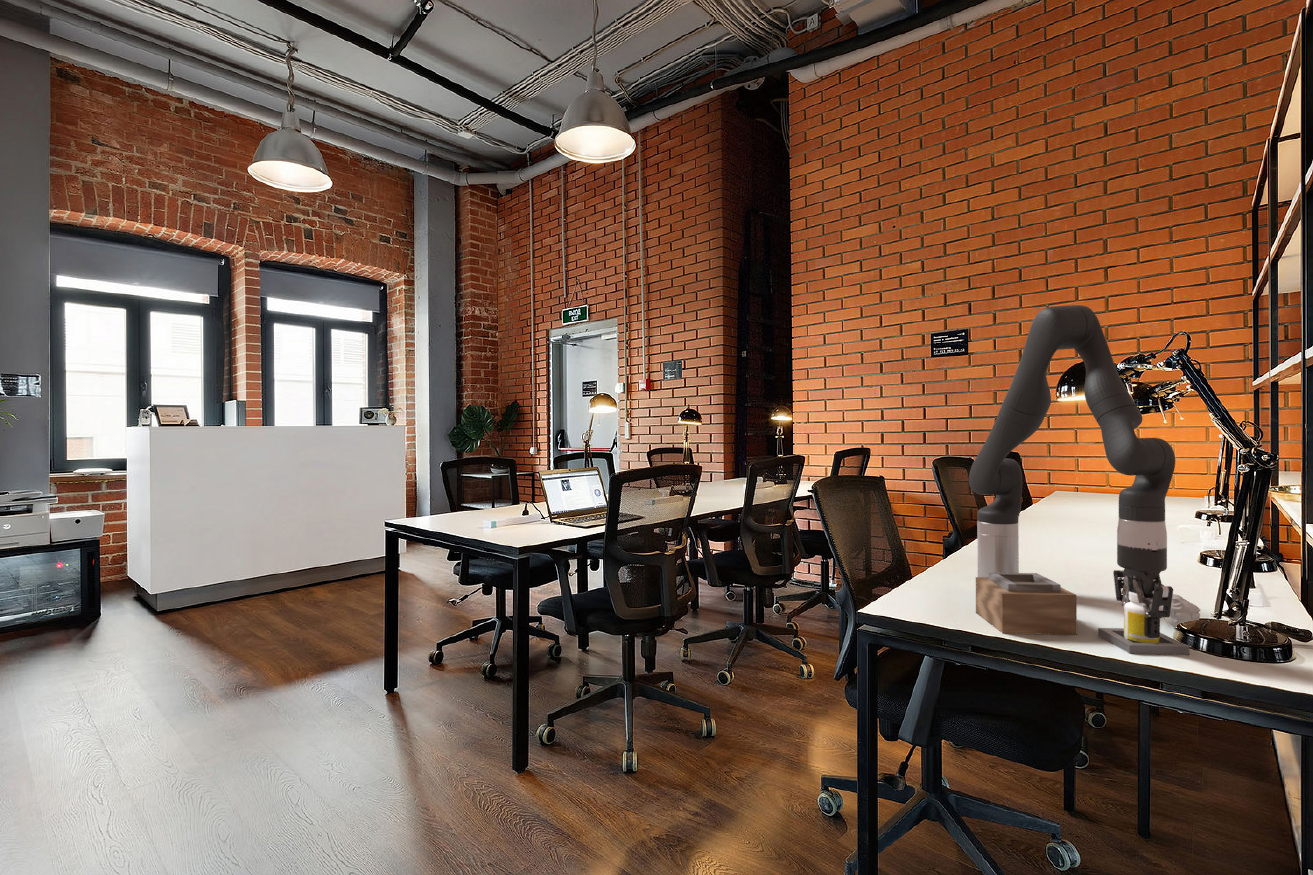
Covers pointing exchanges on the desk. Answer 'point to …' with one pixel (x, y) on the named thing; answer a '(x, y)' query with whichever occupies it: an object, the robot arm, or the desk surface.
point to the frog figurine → (1182, 611)
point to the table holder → (1164, 647)
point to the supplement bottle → (1136, 621)
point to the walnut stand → (1026, 604)
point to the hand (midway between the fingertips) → (1141, 631)
